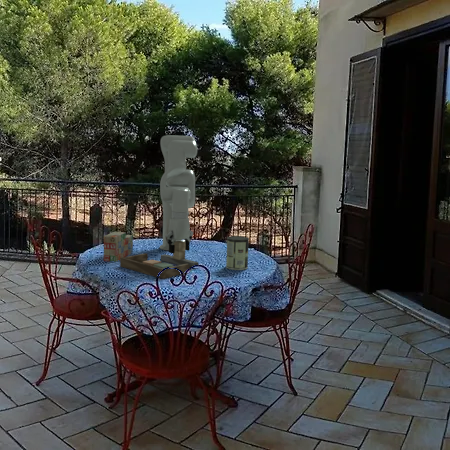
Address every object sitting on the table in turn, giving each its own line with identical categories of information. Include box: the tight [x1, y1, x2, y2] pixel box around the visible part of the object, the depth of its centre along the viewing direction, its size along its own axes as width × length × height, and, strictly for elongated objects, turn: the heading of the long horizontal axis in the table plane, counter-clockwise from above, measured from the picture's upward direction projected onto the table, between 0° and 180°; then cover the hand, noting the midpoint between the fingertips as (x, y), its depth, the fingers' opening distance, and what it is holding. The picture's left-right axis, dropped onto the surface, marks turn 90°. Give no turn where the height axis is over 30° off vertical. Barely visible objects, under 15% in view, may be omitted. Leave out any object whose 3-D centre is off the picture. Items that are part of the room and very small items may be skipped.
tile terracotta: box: [143, 259, 163, 266], centre depth 227 cm, size 6×6×3 cm
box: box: [119, 252, 190, 280], centre depth 223 cm, size 15×28×4 cm, turn 50°
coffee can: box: [225, 235, 250, 271], centre depth 232 cm, size 10×10×14 cm
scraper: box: [160, 241, 199, 269], centre depth 235 cm, size 4×22×11 cm, turn 50°
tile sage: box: [154, 261, 174, 269], centre depth 223 cm, size 6×6×3 cm
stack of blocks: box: [103, 231, 134, 263], centre depth 245 cm, size 21×6×12 cm, turn 169°
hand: (179, 251), depth 234 cm, fingers open, 9 cm apart
